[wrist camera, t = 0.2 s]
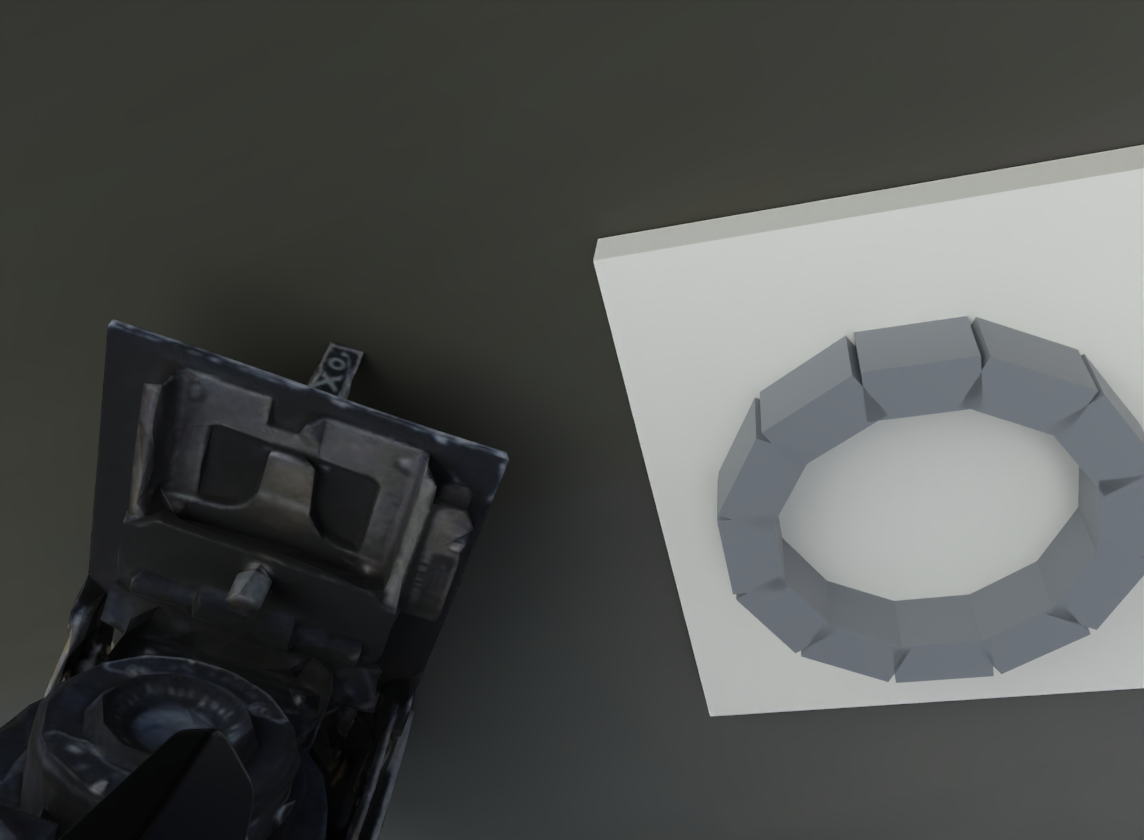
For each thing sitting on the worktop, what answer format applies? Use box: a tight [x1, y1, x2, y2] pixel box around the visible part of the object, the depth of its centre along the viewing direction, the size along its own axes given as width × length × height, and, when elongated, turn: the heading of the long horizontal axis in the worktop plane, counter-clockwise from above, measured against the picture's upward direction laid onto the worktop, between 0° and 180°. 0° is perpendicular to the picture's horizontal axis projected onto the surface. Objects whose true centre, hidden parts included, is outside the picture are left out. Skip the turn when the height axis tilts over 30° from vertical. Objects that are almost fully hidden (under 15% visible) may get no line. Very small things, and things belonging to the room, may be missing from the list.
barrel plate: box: [593, 145, 1144, 716], centre depth 24 cm, size 14×12×2 cm
